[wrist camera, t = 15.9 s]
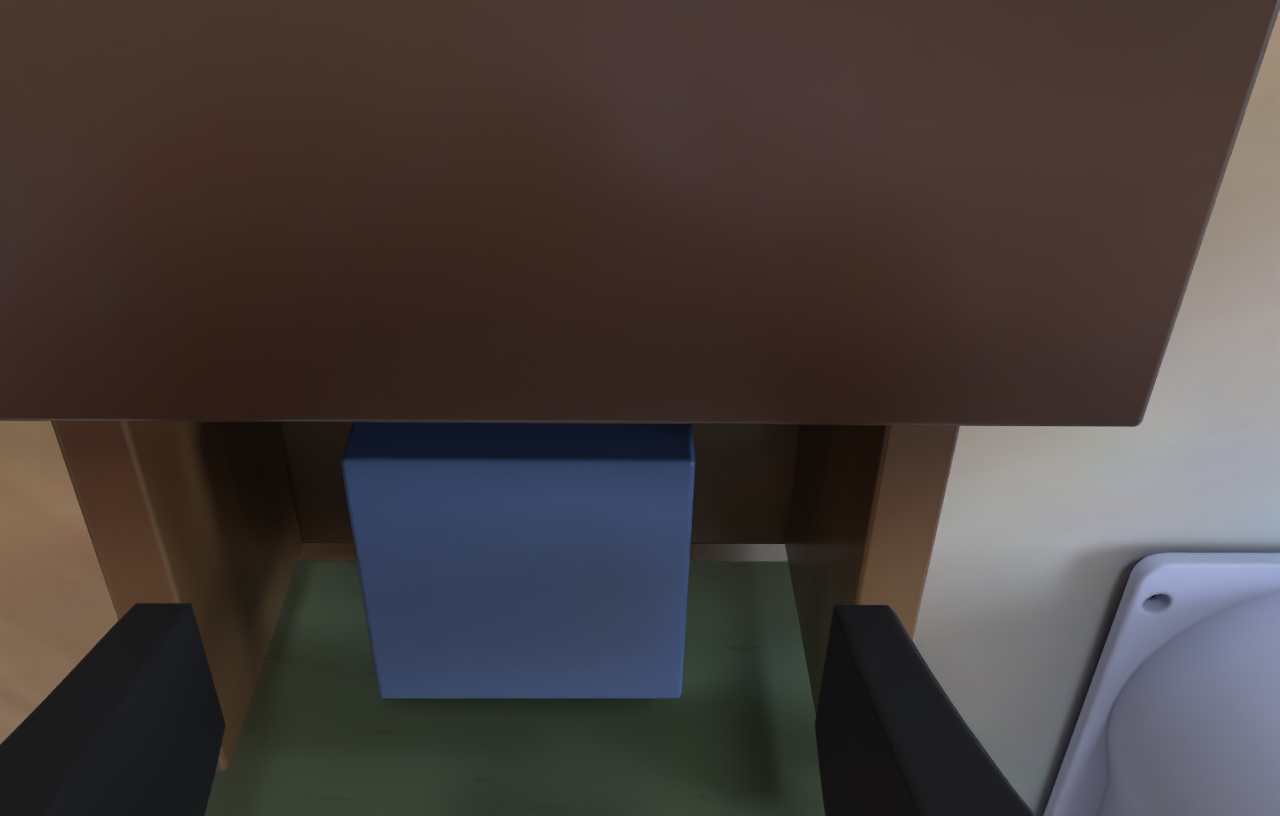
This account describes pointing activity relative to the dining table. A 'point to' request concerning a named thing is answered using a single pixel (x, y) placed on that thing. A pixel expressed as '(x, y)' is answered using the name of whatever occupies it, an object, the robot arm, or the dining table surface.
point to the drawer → (507, 728)
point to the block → (523, 557)
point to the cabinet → (607, 207)
